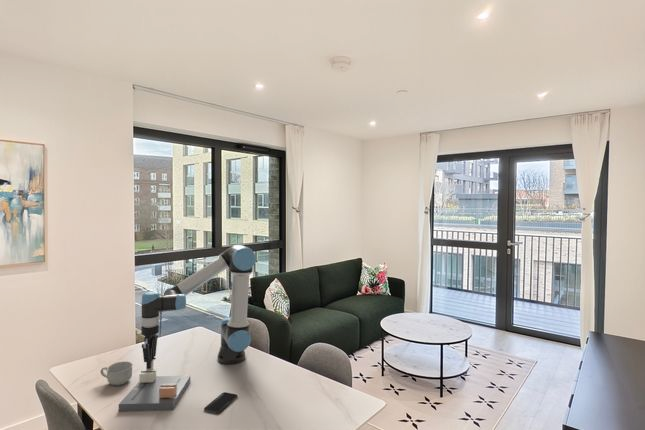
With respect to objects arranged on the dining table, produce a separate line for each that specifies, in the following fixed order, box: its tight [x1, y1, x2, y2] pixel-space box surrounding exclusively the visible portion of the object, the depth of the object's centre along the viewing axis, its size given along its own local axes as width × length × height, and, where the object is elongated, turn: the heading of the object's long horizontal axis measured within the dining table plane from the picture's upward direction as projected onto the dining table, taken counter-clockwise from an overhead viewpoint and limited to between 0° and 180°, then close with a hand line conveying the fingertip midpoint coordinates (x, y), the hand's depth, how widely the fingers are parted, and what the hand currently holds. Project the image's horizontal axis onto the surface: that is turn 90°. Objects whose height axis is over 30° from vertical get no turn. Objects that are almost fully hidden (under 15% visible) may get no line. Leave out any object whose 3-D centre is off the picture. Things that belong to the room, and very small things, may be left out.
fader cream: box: [138, 369, 157, 383], centre depth 166 cm, size 6×4×4 cm, turn 94°
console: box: [118, 375, 191, 412], centre depth 160 cm, size 22×24×3 cm
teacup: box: [100, 360, 133, 387], centre depth 171 cm, size 14×11×8 cm
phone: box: [203, 391, 238, 415], centre depth 154 cm, size 8×1×15 cm
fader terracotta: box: [159, 384, 177, 398], centre depth 153 cm, size 6×4×4 cm, turn 94°
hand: (149, 374), depth 169 cm, fingers closed
